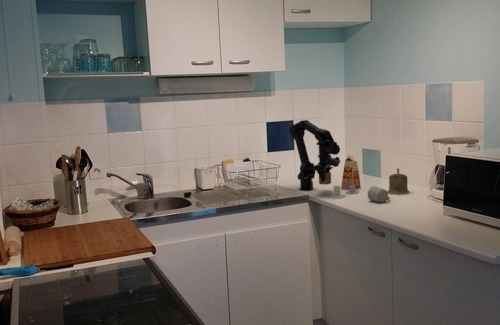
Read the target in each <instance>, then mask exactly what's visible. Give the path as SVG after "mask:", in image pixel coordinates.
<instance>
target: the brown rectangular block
mask: <svg viewBox="0 0 500 325" xmlns="http://www.w3.org/2000/svg"><path fill="white" fill-rule="evenodd" d="M318 184H319V185H325V186H326V185H327V186H328V185H329V184H332V172H331V171H330V172H325V180H324V182H322V180H321V178H320V176H319V175H318Z"/></svg>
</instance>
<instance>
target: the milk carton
mask: <svg viewBox="0 0 500 325" xmlns="http://www.w3.org/2000/svg"><path fill="white" fill-rule="evenodd" d="M360 176H361V175H360V170H359V164H358V161H357V160H356V159H354V156H351V155H347V158H345V160H344V166H343V172H342V179H341V186H340V191H347V192H348V191H349V186H351V185H352V186H355V191H359V190H360V189H361V188H362V187H361V186H362V185H361V184H362V183H361V178H360Z"/></svg>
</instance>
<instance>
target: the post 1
mask: <svg viewBox="0 0 500 325" xmlns="http://www.w3.org/2000/svg"><path fill="white" fill-rule="evenodd" d="M344 197H346V194H341V186H340V185H338V184H337V185H334V186H333V193H332V194H331V195H330V196H328V198H329V199H343V198H344Z"/></svg>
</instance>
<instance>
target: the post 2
mask: <svg viewBox="0 0 500 325" xmlns="http://www.w3.org/2000/svg"><path fill="white" fill-rule="evenodd" d="M358 193H360V191H359V190H357V191H355V186H352V185H351V186H349V191H348V190H347V191H346V192H345V195H357V194H358Z"/></svg>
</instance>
